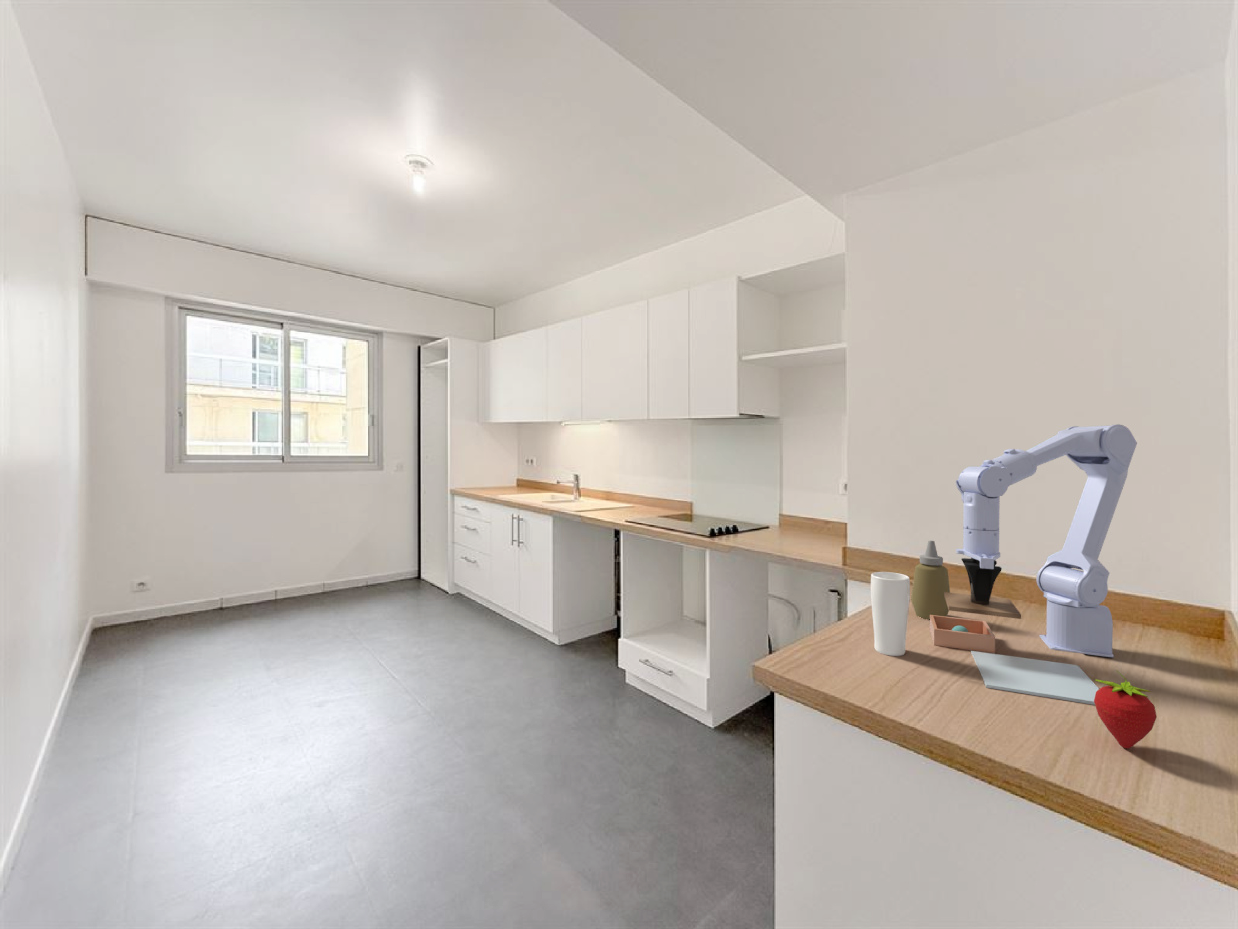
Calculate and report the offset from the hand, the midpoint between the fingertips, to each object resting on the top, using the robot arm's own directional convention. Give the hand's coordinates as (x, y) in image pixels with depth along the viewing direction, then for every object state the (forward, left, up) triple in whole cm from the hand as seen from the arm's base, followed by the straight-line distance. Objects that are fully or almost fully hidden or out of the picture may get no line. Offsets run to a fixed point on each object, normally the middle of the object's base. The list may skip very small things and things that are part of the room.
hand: (980, 598), depth 101 cm
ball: (+3, -4, -10) cm, 11 cm away
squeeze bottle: (+7, -19, -11) cm, 23 cm away
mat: (-6, +10, -10) cm, 16 cm away
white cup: (+16, +8, -11) cm, 20 cm away
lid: (0, 0, -2) cm, 2 cm away
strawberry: (-11, +31, -11) cm, 34 cm away
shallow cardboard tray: (+3, -4, -10) cm, 12 cm away
